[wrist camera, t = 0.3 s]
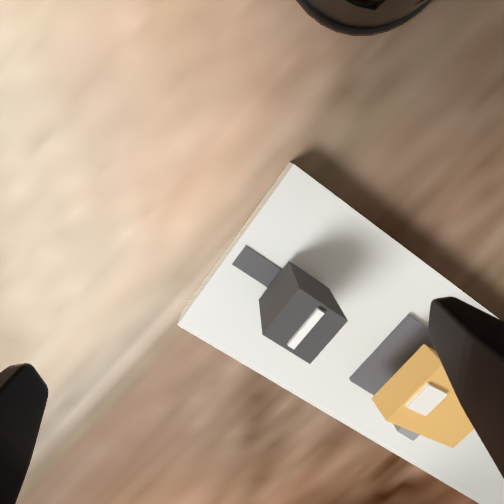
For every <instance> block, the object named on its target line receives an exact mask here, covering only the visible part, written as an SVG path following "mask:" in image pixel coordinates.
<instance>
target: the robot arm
mask: <svg viewBox="0 0 504 504" xmlns="http://www.w3.org/2000/svg"><path fill="white" fill-rule="evenodd" d="M428 332H429V336H430V339H431V341H432V343H433V346H434V348H435V350H436V352H437V354H438V357H439V359H440V361H441V363H442V365H443V368H444V370H445V372H446V374H447V377H448V379H449V381H450V383H451V385H452V388H453V390H454V392H455V394H456V396H457V398H458V400H459V402H460V404H461V406H462V408H463V410H464V412H465V414H466V415H467V417H468V419H469V420H470V422H471V424H472V426H473V427H474V429H475V431H476V432H477V434H478V436H479V437H480V439H481V441H482V443H483V444H484V446H485V448H486V449H487V451H488V453H489V455H490V456H491V458H492V460H493V461H494V463H495V465H496V466H497V468H498V470H499V472H500V473H501V475H502V477H503V478H504V321H502V320H500V319H498V318H496V317H494V316H492V315H490V314H488V313H486V312H484V311H482V310H480V309H478V308H476V307H474V306H472V305H470V304H468V303H466V302H464V301H462V300H460V299H458V298H456V297H452V296H449V297H442V298H436V299H434V300H432V302H431V305H430V314H429V323H428ZM47 398H48V388H47V385H46V384H45V382H44V381H43V379H42V378H41V377H40V375H39V374H38V372H37V371H36V370H35V368H34V367H33V366H32V365H31V364H29V363H24V364H17V365H12V366H9V367H7V368H6V369H5V370H3V371H2V372H1V373H0V504H15V503H16V500H17V498H18V495H19V492H20V490H21V487H22V484H23V481H24V479H25V476H26V473H27V470H28V467H29V464H30V461H31V457H32V454H33V450H34V447H35V443H36V439H37V436H38V432H39V428H40V424H41V421H42V417H43V413H44V410H45V406H46V402H47Z"/></svg>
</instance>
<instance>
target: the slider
mask: <svg viewBox="0 0 504 504" xmlns="http://www.w3.org/2000/svg"><path fill="white" fill-rule="evenodd" d="M259 308H260V317H261V327H262V335H264V336H265V337H267V338H268V339H270V340H272V341H273V342H275V343H277V344H278V345H280V346H281V347H283V348H285V349H286V350H288V351H289V352H291V353H293V354H294V355H296V356H298V357H299V358H301V359H302V360H304V361H306V362H307V363H309V364H311V363H312V361H313V360H314V359H315V358H316V357H317V356H318V355H319V353H320V352H321V351H322V350H323V349H324V348H325V347H326V345H327V344H328V343H329V342H330V341H331V340H332V339H333V337H334V336H335V335H336V334H337V333H338V332H339V331H340V329H341V328H342V327H343V326H344V325H345V324H346V323H347V321H348V320H347V318H346V316H345V315H344V313H343V311H342V310H341V308H340V306H339V304H338V303H337V301H336V299H335V298H334V296H333V294H332V293H331V291H330V289H329V288H328V287H327V286H325V285H324V284H322V283H321V282H319V281H318V280H316V279H315V278H313V277H312V276H311V275H309V274H308V273H306V272H305V271H303V270H302V269H300V268H299V267H297V266H296V265H294V264H293V263H292V262H290V261H288V263H287V264H286V265H285V266H284V268H283V269H282V270H281V271H280V273H279V274H278V275H277V277H276V278H275V279H274V280H273V282H272V283H271V284H270V286H269V287H268V288H267V289H266V291H265V292H264V293H263V295H262V296H261V297H260V298H259Z"/></svg>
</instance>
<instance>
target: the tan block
mask: <svg viewBox="0 0 504 504" xmlns="http://www.w3.org/2000/svg"><path fill="white" fill-rule="evenodd" d="M371 399H372V400H373V402H374V403H375V405H376V406H377V408H378V409H379V411H380V412H381V414H382V415H383V417H384V419H385V420H386V421H388V422H390V423H393V424H395V425H398V426H400V427H402V428H405V429H407V430H410V431H412V432H415V433H417V434H420V435H422V436H424V437H427V438H429V439H432V440H434V441H437V442H439V443H441V444H444V445H446V446H449V447H451V448H454V447H455V446H456V445H457V444H458V443H459V442H460V441H461V440H463V439H464V438H465V437H466V436H467V435H468V434H469V433H470V432H471V431H472V430H473V429H474V427H473V426H472V424H471V422H470V420H469V419H468V417H467V415H466V414H465V412H464V410H463V408H462V406H461V404H460V402H459V400H458V398H457V396H456V394H455V392H454V390H453V388H452V385H451V383H450V381H449V379H448V377H447V374H446V372H445V370H444V368H443V365H442V363H441V361H440V359H439V357H438V354H437V352H436V351H435V350H433V349H432V348H430V347H428V346H427V345H425V344H423V345H422V346H421V347H420V348H419V349H418V350H417V351H416V353H415V354H414V355H413V356H412V357H411V358H410V359H409V360H408V361H407V362H406V363H405V364H404V365H403V366H402V367H401V368H400V369H399V370H398V371H397V372H396V373H395V374H394V375H393V376H392V377H391V378H390V380H389V381H388V382H387V383H386V384H385V385H384V386H383V387H382V388H381V389H380V390H379V391H378V392H377V393H376V394H375V395H374V396H373V397H372V398H371Z"/></svg>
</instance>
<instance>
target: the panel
mask: <svg viewBox="0 0 504 504" xmlns="http://www.w3.org/2000/svg"><path fill="white" fill-rule="evenodd" d="M288 261H290V262H292V263H293V264H294V265H296V266H297V267H299V268H300V269H302V270H303V271H305V272H306V273H308V274H309V275H311V276H312V277H313V278H315V279H316V280H318V281H319V282H321V283H322V284H324V285H325V286H327V287H328V288H329V289H330V291H331V293H332V294H333V296H334V298H335V299H336V301H337V303H338V304H339V306H340V308H341V310H342V311H343V313H344V315H345V316H346V318H347V320H348V321H347V323H346V324H345V325H344V326H343V327H342V328H341V329H340V331H339V332H338V333H337V334H336V335H335V336H334V337H333V339H332V340H331V341H330V342H329V343H328V344H327V345H326V347H325V348H324V349H323V350H322V351H321V352H320V353H319V355H318V356H317V357H316V358H315V359H314V360H313V361H312V363H311V364H309V363H307V362H306V361H304V360H302V359H301V358H299V357H298V356H296V355H294V354H293V353H291V352H289V351H288V350H286V349H285V348H283V347H281V346H280V345H278V344H277V343H275V342H273V341H272V340H270V339H268V338H267V337H265V336H264V335H262V327H261V317H260V308H259V298H260V297H261V296H262V295H263V293H264V292H265V291H266V289H267V288H268V287H269V286H270V284H271V283H272V282H273V280H274V279H275V278H276V277H277V275H278V274H279V273H280V271H281V270H282V269H283V268H284V266H285V265H286V264H287V263H288ZM449 296H452V297H456V298H458V299H460V300H462V301H464V302H466V303H468V304H470V305H472V306H474V307H476V308H478V309H480V310H482V311H484V312H486V313H488V314H490V315H492V316H494V317H496V316H495V315H493V314H492V313H491V312H489V311H488V310H487V309H485V308H484V307H483V306H482V305H480V304H479V303H478V302H476V301H475V300H474V299H472V298H471V297H470V296H468V295H467V294H466V293H464V292H463V291H462V290H460V289H459V288H458V287H456V286H455V285H454V284H452V283H451V282H450V281H448V280H447V279H446V278H444V277H443V276H442V275H440V274H439V273H438V272H436V271H435V270H434V269H432V268H431V267H430V266H428V265H427V264H426V263H424V262H423V261H422V260H420V259H419V258H418V257H416V256H415V255H414V254H413V253H411V252H410V251H409V250H407V249H406V248H405V247H403V246H402V245H401V244H399V243H398V242H397V241H395V240H394V239H393V238H391V237H390V236H389V235H387V234H386V233H385V232H383V231H382V230H381V229H379V228H378V227H377V226H375V225H374V224H373V223H371V222H370V221H369V220H367V219H366V218H365V217H363V216H362V215H361V214H359V213H358V212H357V211H355V210H354V209H353V208H351V207H350V206H349V205H348V204H346V203H345V202H344V201H342V200H341V199H340V198H338V197H337V196H336V195H334V194H333V193H332V192H330V191H329V190H328V189H326V188H325V187H324V186H322V185H321V184H320V183H318V182H317V181H316V180H314V179H313V178H312V177H310V176H309V175H308V174H306V173H305V172H304V171H302V170H301V169H300V168H298V167H297V166H296V165H294V164H293V163H290V162H289V163H288V165H287V166H286V167H285V169H284V170H283V171H282V173H281V174H280V176H279V177H278V178H277V180H276V181H275V183H274V184H273V185H272V187H271V188H270V189H269V191H268V192H267V194H266V195H265V196H264V198H263V199H262V201H261V202H260V203H259V205H258V206H257V208H256V209H255V210H254V212H253V213H252V214H251V216H250V217H249V219H248V220H247V221H246V223H245V224H244V226H243V227H242V228H241V230H240V231H239V233H238V234H237V235H236V237H235V238H234V239H233V241H232V242H231V244H230V245H229V246H228V248H227V249H226V251H225V252H224V253H223V255H222V256H221V257H220V259H219V260H218V262H217V263H216V264H215V266H214V267H213V269H212V270H211V271H210V273H209V274H208V276H207V277H206V278H205V280H204V281H203V282H202V284H201V285H200V287H199V288H198V289H197V291H196V292H195V294H194V295H193V296H192V298H191V299H190V301H189V302H188V303H187V305H186V306H185V307H184V309H183V310H182V313H181V316H180V319H179V322H178V326H180V327H181V328H183V329H185V330H187V331H188V332H190V333H192V334H193V335H195V336H197V337H198V338H200V339H202V340H203V341H205V342H207V343H209V344H210V345H212V346H214V347H215V348H217V349H219V350H220V351H222V352H224V353H225V354H227V355H229V356H231V357H232V358H234V359H236V360H237V361H239V362H241V363H242V364H244V365H246V366H247V367H249V368H251V369H253V370H254V371H256V372H258V373H259V374H261V375H263V376H264V377H266V378H268V379H269V380H271V381H273V382H275V383H276V384H278V385H280V386H281V387H283V388H285V389H286V390H288V391H290V392H291V393H293V394H295V395H297V396H298V397H300V398H302V399H303V400H305V401H307V402H308V403H310V404H312V405H313V406H315V407H317V408H319V409H320V410H322V411H324V412H325V413H327V414H329V415H330V416H332V417H334V418H335V419H337V420H339V421H340V422H342V423H344V424H346V425H347V426H349V427H351V428H352V429H354V430H356V431H357V432H359V433H361V434H362V435H364V436H366V437H368V438H369V439H371V440H373V441H374V442H376V443H378V444H379V445H381V446H383V447H384V448H386V449H388V450H390V451H391V452H393V453H395V454H396V455H398V456H400V457H401V458H403V459H405V460H406V461H408V462H410V463H412V464H413V465H415V466H417V467H418V468H420V469H422V470H423V471H425V472H427V473H428V474H430V475H432V476H434V477H435V478H437V479H439V480H440V481H442V482H444V483H445V484H447V485H449V486H450V487H452V488H454V489H456V490H457V491H459V492H461V493H462V494H464V495H466V496H467V497H469V498H471V499H472V500H474V501H476V502H478V503H479V504H504V478H503V477H502V475H501V473H500V472H499V470H498V468H497V466H496V465H495V463H494V461H493V460H492V458H491V456H490V455H489V453H488V451H487V449H486V448H485V446H484V444H483V443H482V441H481V439H480V437H479V436H478V434H477V432H476V431H475V429H473V430H472V431H471V432H470V433H469V434H468V435H467V436H466V437H465V438H464V439H463V440H461V441H460V442H459V443H458V444H457V445H456V446H455V447H454V448H451V447H449V446H446V445H444V444H441V443H439V442H437V441H434V440H432V439H429V438H427V437H424V436H422V435H420V434H417V433H415V432H412V431H410V430H407V429H405V428H402V427H400V426H398V425H395V424H393V423H390V422H388V421H386V420H385V419H384V417H383V415H382V414H381V412H380V411H379V409H378V408H377V406H376V405H375V403H374V402H373V400H372V399H371V398H372V397H373V396H374V395H375V394H376V393H377V392H378V391H379V390H380V389H381V388H382V387H383V386H384V385H385V384H386V383H387V382H388V381H389V380H390V378H391V377H392V376H393V375H394V374H395V373H396V372H397V371H398V370H399V369H400V368H401V367H402V366H403V365H404V364H405V363H406V362H407V361H408V360H409V359H410V358H411V357H412V356H413V355H414V354H415V353H416V351H417V350H418V349H419V348H420V347H421V346H422V345H423V344H425V345H427V346H428V347H430V348H432V349H433V350H435V348H434V346H433V343H432V341H431V339H430V336H429V332H428V323H429V314H430V305H431V302H432V300H434V299H436V298H442V297H449ZM496 318H497V317H496ZM498 319H499V318H498ZM435 351H436V350H435Z"/></svg>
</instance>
